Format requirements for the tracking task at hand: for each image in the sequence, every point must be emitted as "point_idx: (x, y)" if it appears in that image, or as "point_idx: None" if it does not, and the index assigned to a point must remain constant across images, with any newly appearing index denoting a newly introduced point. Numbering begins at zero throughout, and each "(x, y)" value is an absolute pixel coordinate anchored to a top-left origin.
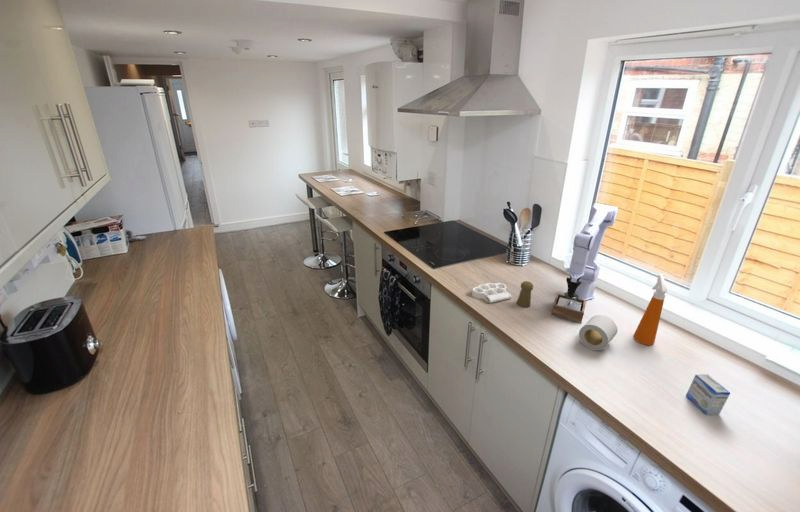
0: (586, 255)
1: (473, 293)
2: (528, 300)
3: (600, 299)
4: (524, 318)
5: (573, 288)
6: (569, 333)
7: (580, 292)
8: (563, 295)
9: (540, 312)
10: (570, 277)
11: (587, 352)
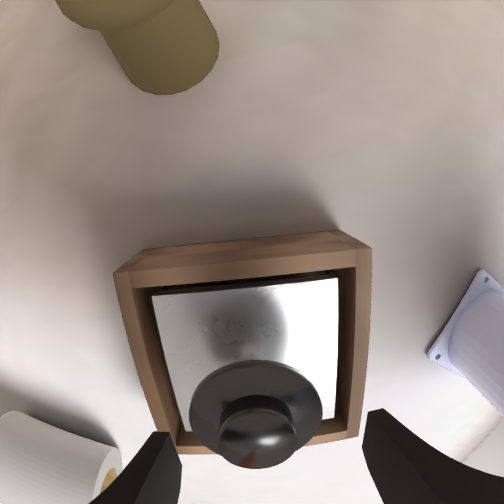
0: None
1: None
2: (126, 66)
3: (476, 401)
4: (17, 134)
5: None
6: (49, 367)
7: (472, 362)
8: (359, 305)
9: (130, 181)
10: (425, 486)
11: None
